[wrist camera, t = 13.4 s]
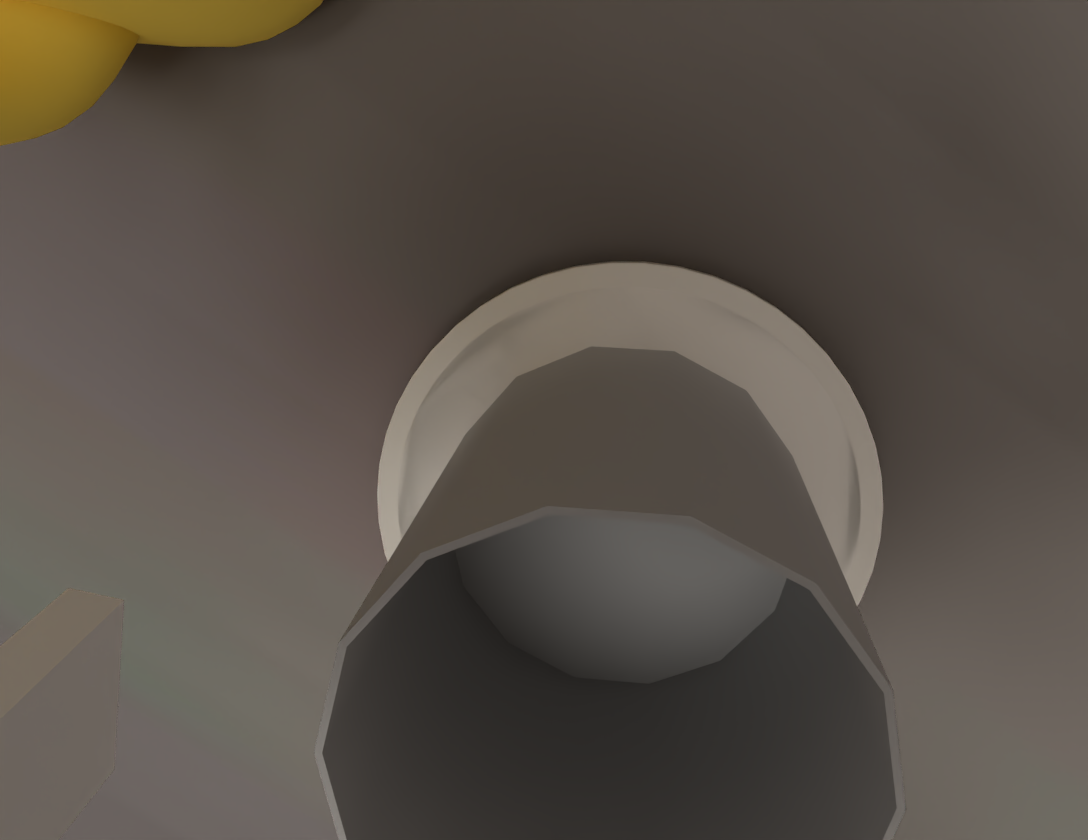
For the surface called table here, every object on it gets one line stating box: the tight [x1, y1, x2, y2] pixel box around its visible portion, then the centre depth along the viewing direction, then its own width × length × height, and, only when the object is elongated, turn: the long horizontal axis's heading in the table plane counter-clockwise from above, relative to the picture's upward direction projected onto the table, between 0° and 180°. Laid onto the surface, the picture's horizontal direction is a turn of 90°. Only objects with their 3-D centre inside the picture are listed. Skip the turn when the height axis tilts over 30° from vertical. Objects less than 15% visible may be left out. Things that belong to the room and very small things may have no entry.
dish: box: [377, 261, 883, 606], centre depth 24 cm, size 12×12×1 cm
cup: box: [314, 346, 906, 840], centre depth 19 cm, size 8×8×10 cm
